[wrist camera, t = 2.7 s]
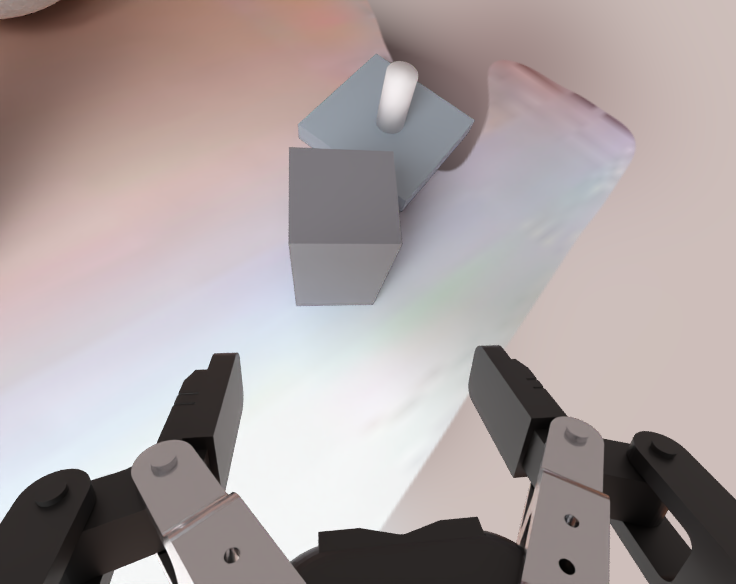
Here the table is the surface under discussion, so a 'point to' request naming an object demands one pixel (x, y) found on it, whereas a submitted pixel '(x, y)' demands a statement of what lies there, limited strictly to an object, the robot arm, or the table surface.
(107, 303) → the table surface
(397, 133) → the stub base
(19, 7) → the cereal bowl
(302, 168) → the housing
